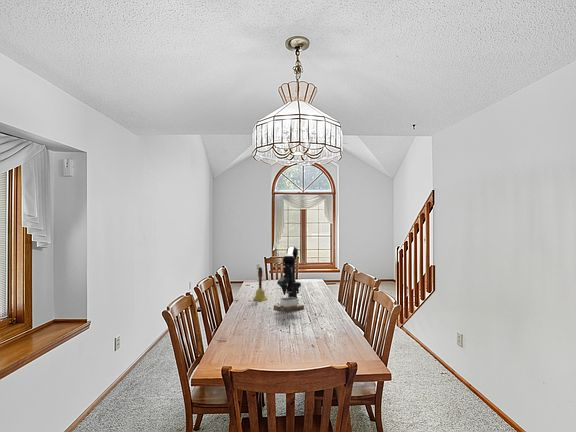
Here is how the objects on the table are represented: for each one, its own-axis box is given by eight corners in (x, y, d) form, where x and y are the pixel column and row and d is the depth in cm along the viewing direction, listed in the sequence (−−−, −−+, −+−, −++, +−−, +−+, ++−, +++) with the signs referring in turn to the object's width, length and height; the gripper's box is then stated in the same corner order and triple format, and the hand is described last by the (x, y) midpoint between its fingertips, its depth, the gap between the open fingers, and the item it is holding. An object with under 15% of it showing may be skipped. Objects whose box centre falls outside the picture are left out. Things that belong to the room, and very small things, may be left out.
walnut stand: (273, 308, 274) (273, 305, 274) (290, 305, 285) (290, 302, 285) (287, 312, 264) (287, 308, 264) (304, 308, 274) (304, 305, 274)
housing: (292, 303, 279) (292, 296, 280) (297, 305, 275) (297, 298, 275) (280, 305, 274) (280, 298, 274) (285, 307, 269) (285, 299, 269)
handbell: (253, 301, 299) (253, 268, 299) (251, 298, 311) (251, 266, 311) (269, 300, 302) (269, 268, 302) (266, 297, 314) (266, 266, 314)
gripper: (271, 273, 276) (271, 295, 276) (289, 275, 262) (289, 299, 262) (283, 271, 283) (283, 293, 283) (301, 274, 269) (301, 297, 269)
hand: (288, 295), depth 274 cm, fingers open, 9 cm apart
